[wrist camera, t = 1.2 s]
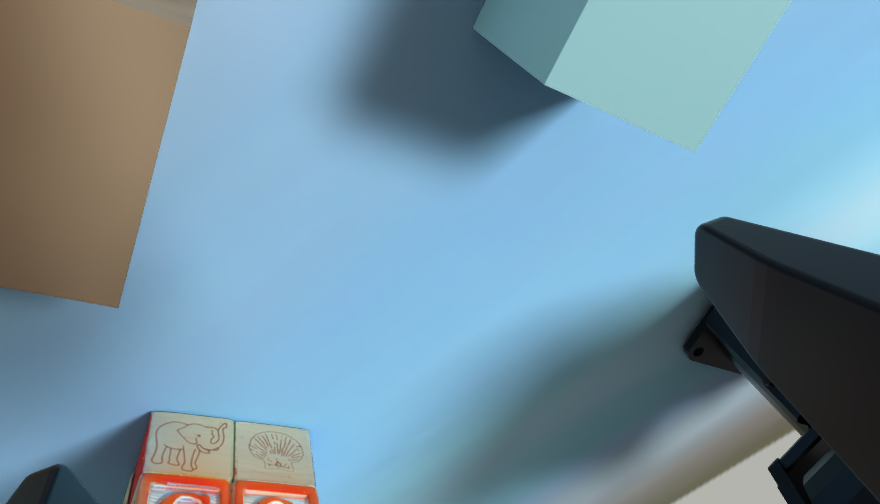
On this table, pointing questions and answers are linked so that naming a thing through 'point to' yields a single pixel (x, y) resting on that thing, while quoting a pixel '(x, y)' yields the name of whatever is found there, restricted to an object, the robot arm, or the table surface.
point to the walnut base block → (81, 136)
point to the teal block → (637, 54)
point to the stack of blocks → (221, 463)
